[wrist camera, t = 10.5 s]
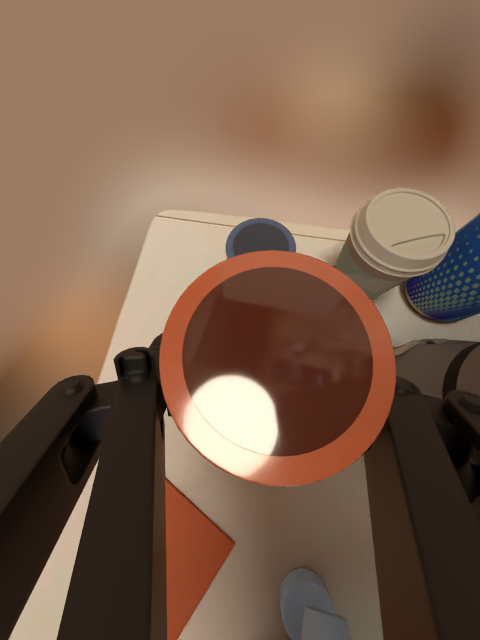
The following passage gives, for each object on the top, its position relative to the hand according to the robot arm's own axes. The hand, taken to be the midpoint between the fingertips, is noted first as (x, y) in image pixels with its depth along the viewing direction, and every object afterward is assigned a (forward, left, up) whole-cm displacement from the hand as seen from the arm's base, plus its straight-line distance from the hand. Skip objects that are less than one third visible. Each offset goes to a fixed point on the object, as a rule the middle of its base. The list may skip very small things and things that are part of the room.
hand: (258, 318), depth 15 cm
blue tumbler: (+4, -7, -15) cm, 17 cm away
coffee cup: (-5, -16, -15) cm, 23 cm away
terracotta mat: (-4, +20, -15) cm, 25 cm away
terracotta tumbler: (-2, +3, -3) cm, 5 cm away
